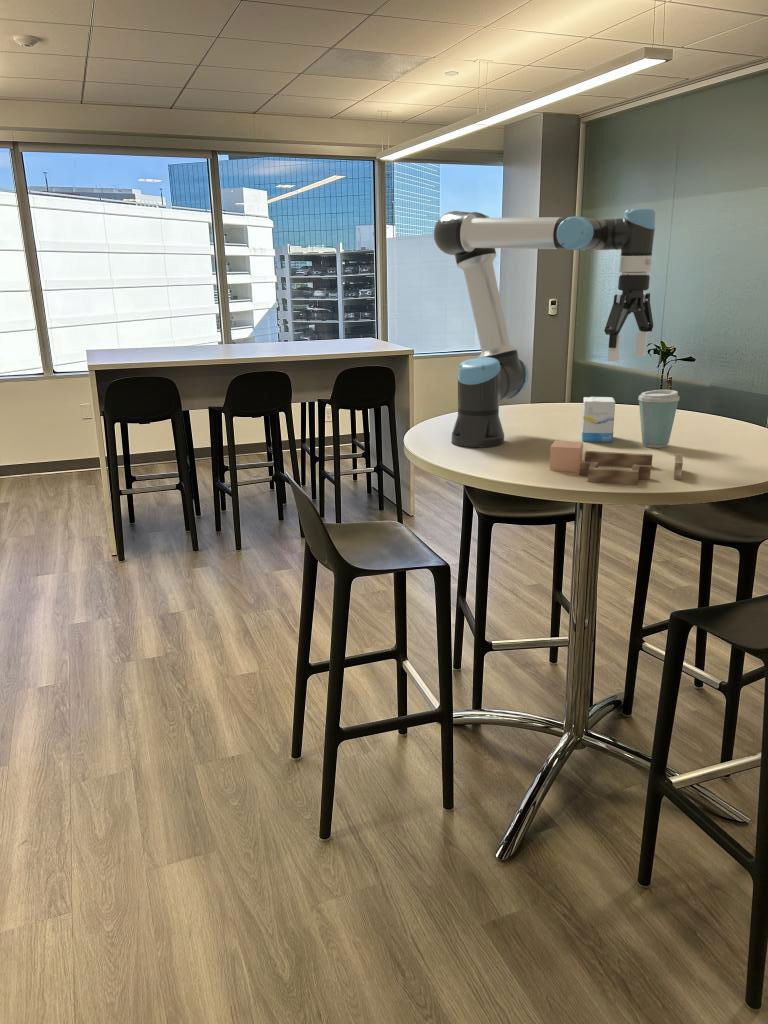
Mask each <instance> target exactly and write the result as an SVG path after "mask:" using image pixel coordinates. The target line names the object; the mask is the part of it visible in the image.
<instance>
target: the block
mask: <svg viewBox="0 0 768 1024" xmlns="http://www.w3.org/2000/svg"><path fill="white" fill-rule="evenodd" d="M549 450H550V451H549V471H558V472H559V471H561V472H562V471H563V472H572V473H573V472H575V473H579V471H580V462H581V461H583V450H584V441H568V440H567V441H565V440H564V441H563V440H554V441H553V443H552V444H551V445H550V449H549Z"/></svg>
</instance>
